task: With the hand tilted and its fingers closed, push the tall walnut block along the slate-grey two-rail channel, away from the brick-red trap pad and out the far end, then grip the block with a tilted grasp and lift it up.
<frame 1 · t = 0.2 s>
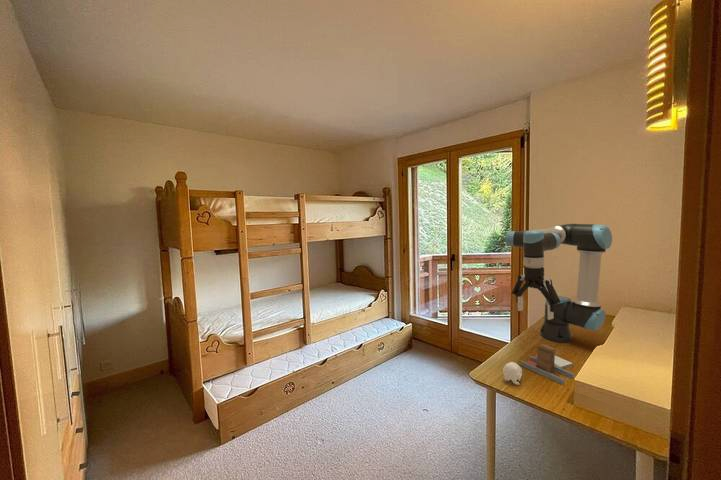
hand: (534, 314, 128), 27 cm above the table, tool pointing down, fingers open, 13 cm apart
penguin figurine: (513, 379, 126), on the table
external hard drive: (553, 362, 141), on the table
channel: (546, 371, 131), on the table
trap pad: (531, 364, 137), on the table
walnut block: (544, 370, 132), on the table
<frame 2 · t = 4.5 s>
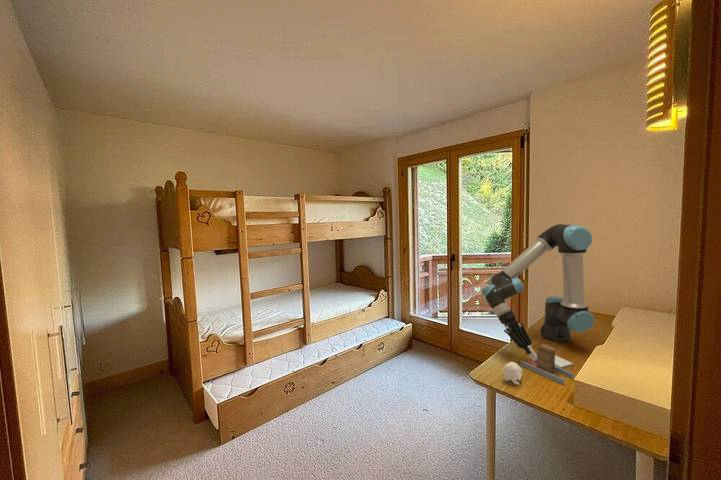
hand: (535, 360, 134), 4 cm above the table, tool tilted 45°, fingers closed
walnut block: (545, 371, 132), on the table, touching gripper
everything else where it was.
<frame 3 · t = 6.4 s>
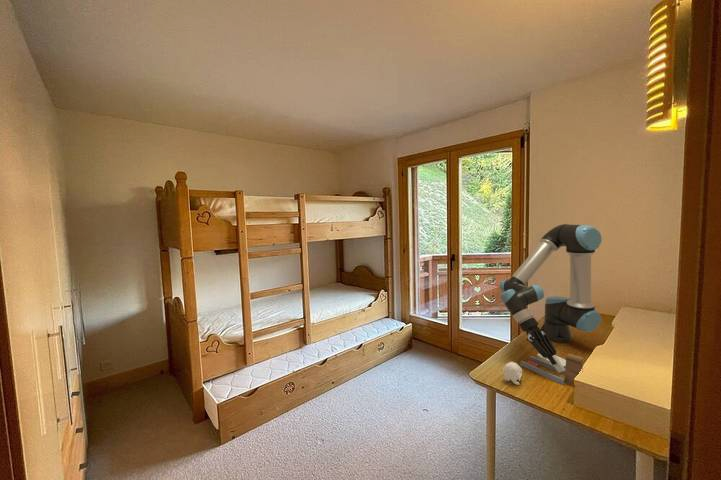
hand: (561, 371, 125), 4 cm above the table, tool tilted 45°, fingers closed
walnut block: (572, 382, 123), on the table
everything else where it was.
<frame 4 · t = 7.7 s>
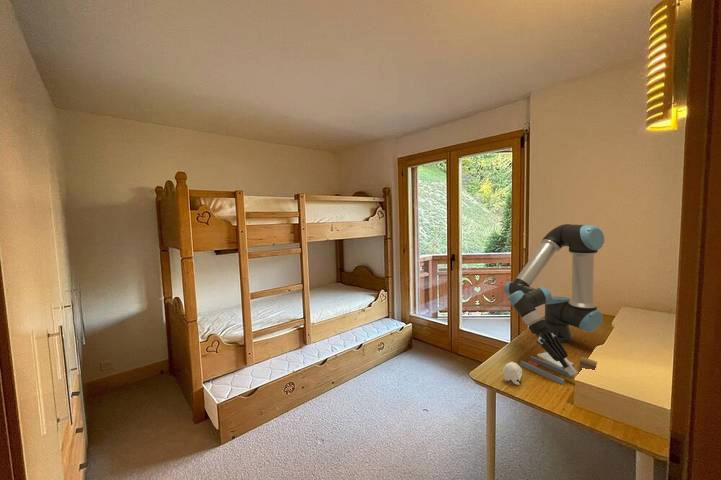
hand: (574, 374, 122), 4 cm above the table, tool tilted 45°, fingers closed
walnut block: (584, 386, 120), on the table, touching gripper
everything else where it was.
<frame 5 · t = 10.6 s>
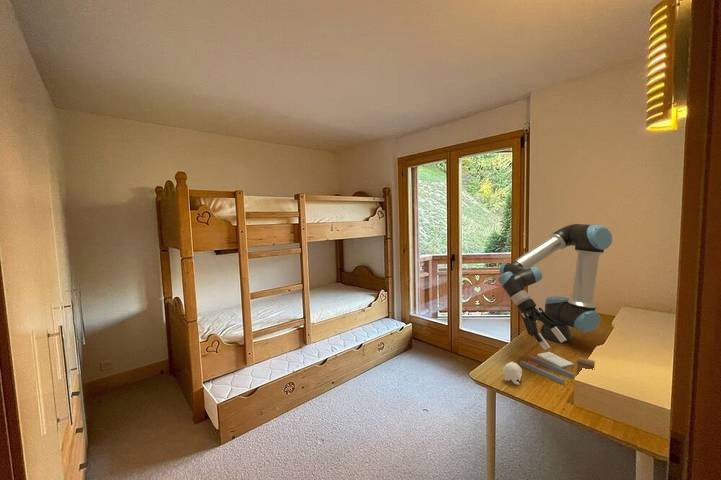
hand: (555, 345, 127), 14 cm above the table, tool tilted 45°, fingers open, 13 cm apart
walnut block: (584, 386, 120), on the table
everything else where it was.
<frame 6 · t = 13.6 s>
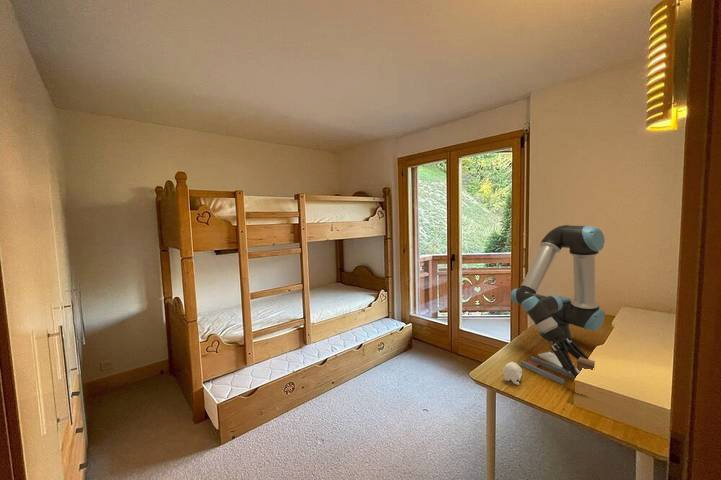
hand: (591, 382, 117), 4 cm above the table, tool tilted 45°, fingers open, 8 cm apart
walnut block: (584, 386, 120), on the table, touching gripper
everything else where it was.
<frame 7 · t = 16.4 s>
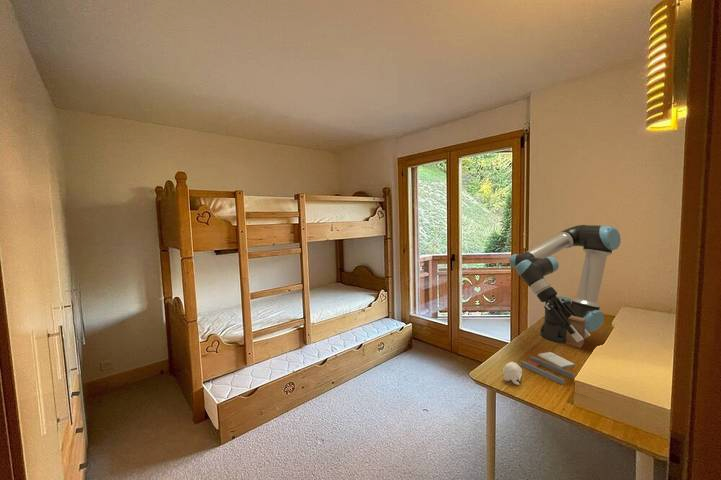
hand: (583, 338, 120), 20 cm above the table, tool tilted 45°, fingers closed on walnut block, 6 cm apart
walnut block: (574, 343, 123), point 16 cm above the table, touching gripper
everything else where it was.
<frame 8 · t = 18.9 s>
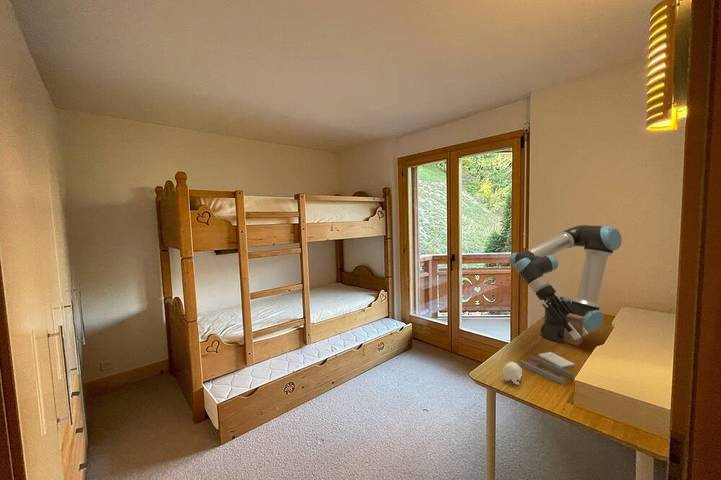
hand: (581, 336, 120), 20 cm above the table, tool tilted 45°, fingers closed on walnut block, 6 cm apart
walnut block: (572, 341, 123), point 17 cm above the table, touching gripper
at the end: the gripper is holding walnut block; walnut block inside the target area (1.7 cm from its centre), point 17.0 cm above the table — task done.
